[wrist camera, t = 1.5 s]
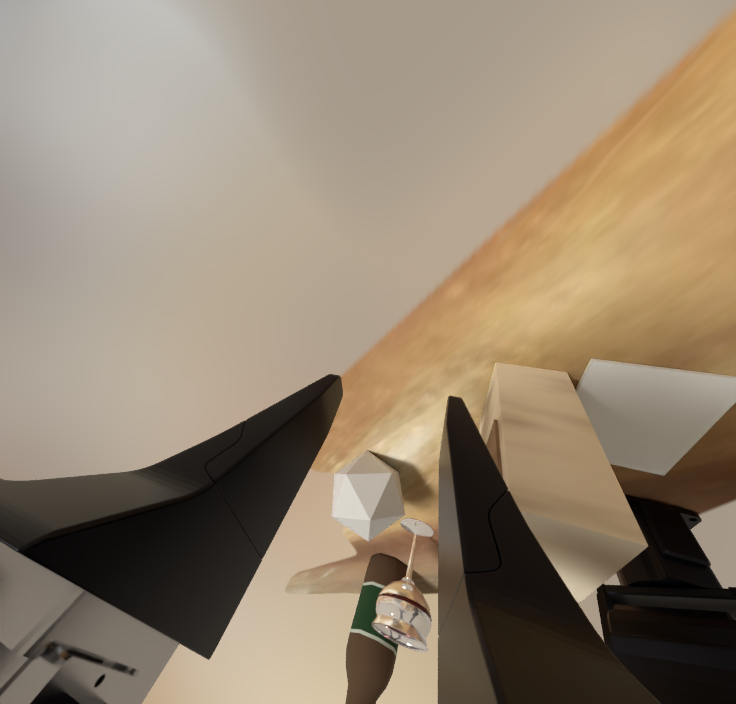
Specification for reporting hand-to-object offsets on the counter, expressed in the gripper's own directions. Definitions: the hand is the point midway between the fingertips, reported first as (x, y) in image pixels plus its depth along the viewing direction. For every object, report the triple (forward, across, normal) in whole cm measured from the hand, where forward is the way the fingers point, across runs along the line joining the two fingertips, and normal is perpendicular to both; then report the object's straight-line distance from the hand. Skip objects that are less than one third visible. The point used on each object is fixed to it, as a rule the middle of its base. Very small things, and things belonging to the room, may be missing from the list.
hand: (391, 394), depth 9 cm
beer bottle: (+13, +3, +55) cm, 57 cm away
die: (+13, +5, +25) cm, 29 cm away
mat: (+13, -16, +10) cm, 23 cm away
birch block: (+13, -8, +10) cm, 18 cm away
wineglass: (+13, -1, +38) cm, 40 cm away
